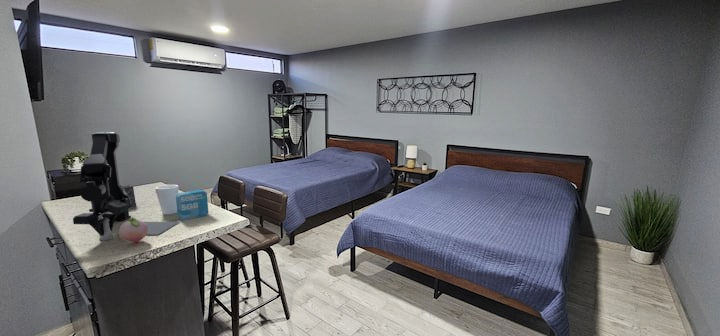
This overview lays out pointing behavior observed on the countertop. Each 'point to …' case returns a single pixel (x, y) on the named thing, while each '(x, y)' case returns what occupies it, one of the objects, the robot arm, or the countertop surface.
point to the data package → (192, 204)
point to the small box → (130, 194)
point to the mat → (159, 227)
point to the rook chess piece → (106, 231)
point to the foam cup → (167, 198)
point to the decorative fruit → (133, 230)
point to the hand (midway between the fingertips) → (106, 233)
